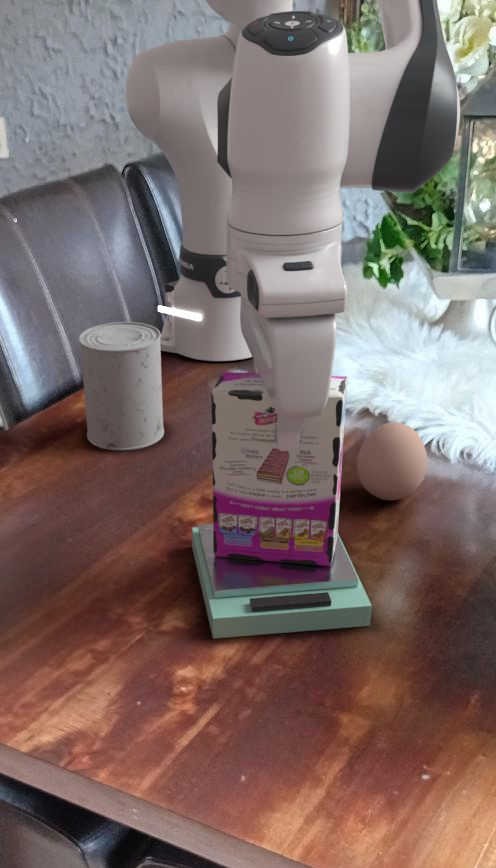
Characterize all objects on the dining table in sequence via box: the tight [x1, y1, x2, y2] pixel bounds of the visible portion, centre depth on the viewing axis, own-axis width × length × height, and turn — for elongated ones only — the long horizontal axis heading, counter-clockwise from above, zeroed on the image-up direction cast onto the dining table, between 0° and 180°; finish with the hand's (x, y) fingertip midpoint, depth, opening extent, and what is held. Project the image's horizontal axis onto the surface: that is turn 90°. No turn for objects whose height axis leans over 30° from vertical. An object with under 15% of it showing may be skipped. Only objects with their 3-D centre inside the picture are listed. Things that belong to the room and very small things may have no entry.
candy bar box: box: [210, 371, 348, 566], centre depth 89 cm, size 11×5×16 cm, turn 75°
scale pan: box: [197, 523, 358, 598], centre depth 94 cm, size 12×13×1 cm
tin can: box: [78, 321, 165, 452], centre depth 120 cm, size 10×10×12 cm
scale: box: [191, 526, 373, 640], centre depth 94 cm, size 16×14×3 cm
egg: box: [356, 421, 428, 501], centre depth 105 cm, size 7×7×8 cm
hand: (276, 423), depth 87 cm, fingers open, 8 cm apart
